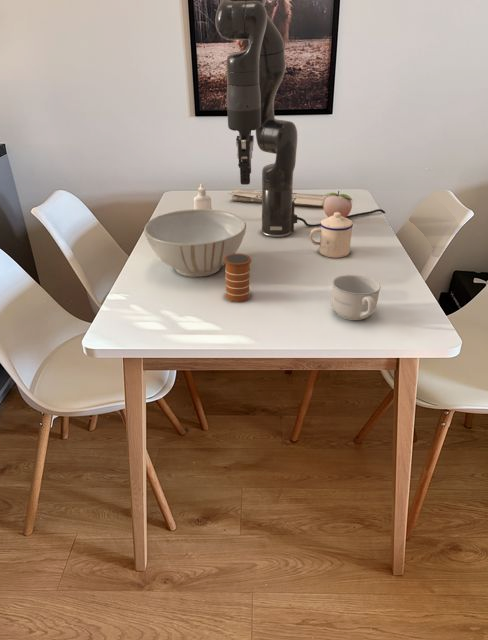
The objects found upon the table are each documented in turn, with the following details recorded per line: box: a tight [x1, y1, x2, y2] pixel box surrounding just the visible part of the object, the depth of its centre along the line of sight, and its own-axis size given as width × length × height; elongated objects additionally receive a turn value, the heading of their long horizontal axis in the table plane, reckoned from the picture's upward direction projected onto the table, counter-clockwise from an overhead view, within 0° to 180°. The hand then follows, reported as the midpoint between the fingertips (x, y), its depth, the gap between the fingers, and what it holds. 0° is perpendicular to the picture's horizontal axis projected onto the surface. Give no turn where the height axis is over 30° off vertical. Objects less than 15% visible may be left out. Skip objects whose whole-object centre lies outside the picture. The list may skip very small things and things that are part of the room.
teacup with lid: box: [308, 212, 354, 259], centre depth 159 cm, size 12×9×12 cm
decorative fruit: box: [323, 190, 353, 217], centre depth 181 cm, size 9×8×10 cm
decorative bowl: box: [143, 208, 247, 278], centre depth 151 cm, size 27×27×12 cm
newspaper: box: [227, 188, 329, 208], centre depth 201 cm, size 35×12×4 cm, turn 76°
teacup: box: [330, 274, 381, 321], centre depth 127 cm, size 14×11×8 cm
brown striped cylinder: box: [224, 253, 252, 303], centre depth 136 cm, size 10×6×6 cm
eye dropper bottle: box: [193, 183, 213, 210], centre depth 183 cm, size 4×6×12 cm
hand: (246, 178), depth 134 cm, fingers open, 8 cm apart
